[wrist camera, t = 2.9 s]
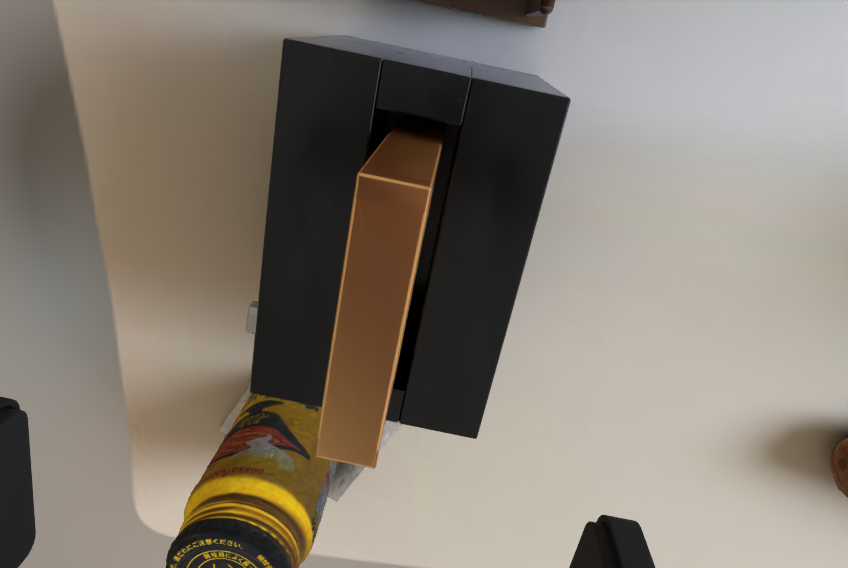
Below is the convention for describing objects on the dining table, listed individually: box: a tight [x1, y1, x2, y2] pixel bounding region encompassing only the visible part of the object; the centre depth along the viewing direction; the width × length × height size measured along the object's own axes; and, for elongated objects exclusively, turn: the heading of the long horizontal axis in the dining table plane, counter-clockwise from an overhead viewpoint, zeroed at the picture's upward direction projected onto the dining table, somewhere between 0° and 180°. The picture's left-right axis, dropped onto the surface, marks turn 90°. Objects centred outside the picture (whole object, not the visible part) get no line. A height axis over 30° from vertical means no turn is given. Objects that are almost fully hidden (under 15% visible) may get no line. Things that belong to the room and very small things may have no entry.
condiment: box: [166, 385, 402, 568], centre depth 31 cm, size 7×8×12 cm
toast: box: [314, 114, 447, 468], centre depth 21 cm, size 8×2×11 cm, turn 169°
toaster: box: [246, 36, 571, 439], centre depth 26 cm, size 13×10×10 cm
